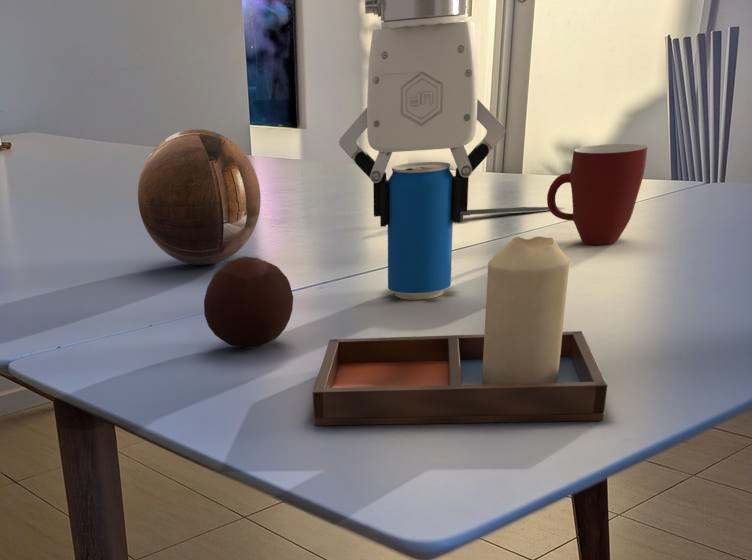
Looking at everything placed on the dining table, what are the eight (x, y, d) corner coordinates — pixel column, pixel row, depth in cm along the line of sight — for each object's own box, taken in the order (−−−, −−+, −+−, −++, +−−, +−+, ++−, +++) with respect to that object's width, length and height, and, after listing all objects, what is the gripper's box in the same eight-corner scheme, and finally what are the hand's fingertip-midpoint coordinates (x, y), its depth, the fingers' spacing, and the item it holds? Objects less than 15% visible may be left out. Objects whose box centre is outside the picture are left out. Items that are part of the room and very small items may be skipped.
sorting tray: (578, 362, 73) (581, 330, 72) (602, 420, 63) (607, 385, 61) (330, 369, 77) (329, 339, 75) (314, 425, 66) (312, 391, 65)
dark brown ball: (257, 327, 89) (251, 243, 85) (317, 345, 83) (313, 255, 79) (188, 346, 85) (177, 259, 81) (244, 366, 79) (236, 273, 75)
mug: (542, 250, 109) (550, 156, 103) (544, 236, 115) (551, 147, 109) (636, 248, 106) (650, 151, 100) (633, 234, 112) (645, 142, 107)
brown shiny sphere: (137, 261, 121) (119, 132, 113) (246, 246, 124) (235, 119, 116) (161, 283, 109) (141, 141, 100) (280, 266, 112) (271, 126, 104)
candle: (509, 398, 66) (519, 251, 60) (467, 378, 70) (474, 239, 65) (573, 384, 67) (588, 239, 62) (528, 365, 72) (539, 227, 66)
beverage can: (425, 283, 99) (428, 159, 93) (463, 293, 94) (468, 163, 88) (375, 293, 97) (374, 168, 90) (411, 305, 92) (413, 172, 85)
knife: (406, 211, 125) (395, 202, 129) (404, 228, 126) (394, 218, 130) (566, 203, 128) (551, 194, 132) (563, 219, 130) (548, 209, 133)
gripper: (323, 15, 80) (330, 234, 90) (526, -4, 77) (511, 224, 87) (330, 15, 86) (337, 220, 96) (519, -2, 84) (506, 211, 94)
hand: (420, 220), depth 92 cm, fingers closed on beverage can, 6 cm apart
